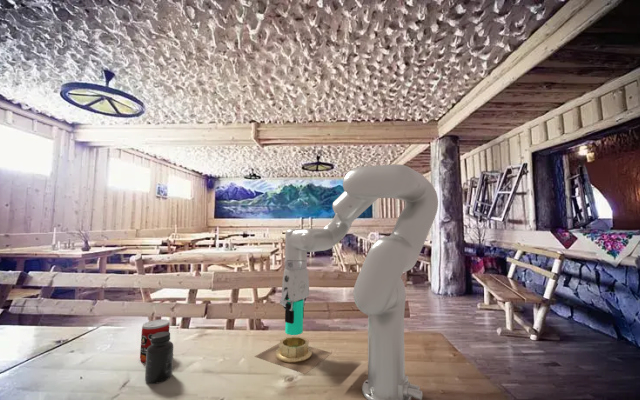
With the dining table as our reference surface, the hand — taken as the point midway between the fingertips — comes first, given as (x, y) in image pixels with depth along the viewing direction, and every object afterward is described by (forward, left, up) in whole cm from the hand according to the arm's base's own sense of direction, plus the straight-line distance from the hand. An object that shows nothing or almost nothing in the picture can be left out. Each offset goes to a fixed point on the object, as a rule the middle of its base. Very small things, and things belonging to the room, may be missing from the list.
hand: (294, 319), depth 92 cm
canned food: (+40, +24, -13) cm, 48 cm away
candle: (0, 0, -4) cm, 4 cm away
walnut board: (0, 0, -13) cm, 13 cm away
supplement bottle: (+26, +30, -13) cm, 42 cm away
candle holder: (0, 0, -11) cm, 11 cm away
